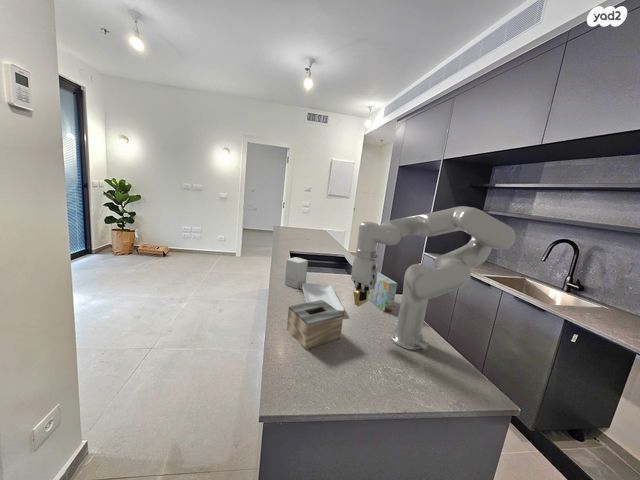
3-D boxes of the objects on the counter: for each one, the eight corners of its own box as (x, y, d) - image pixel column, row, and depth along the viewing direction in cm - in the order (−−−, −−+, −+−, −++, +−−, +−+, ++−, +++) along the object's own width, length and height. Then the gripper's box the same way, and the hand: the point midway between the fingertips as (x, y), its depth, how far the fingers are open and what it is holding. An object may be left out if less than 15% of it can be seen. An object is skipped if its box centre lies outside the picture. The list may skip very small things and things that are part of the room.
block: (367, 301, 107) (366, 288, 105) (358, 306, 104) (357, 293, 102) (364, 299, 108) (362, 286, 106) (354, 304, 106) (353, 291, 104)
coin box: (340, 338, 103) (343, 314, 101) (305, 349, 94) (308, 323, 92) (319, 321, 114) (322, 299, 112) (286, 329, 105) (288, 306, 103)
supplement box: (306, 285, 153) (308, 260, 150) (296, 289, 146) (299, 263, 143) (293, 280, 158) (296, 256, 155) (283, 284, 150) (286, 259, 147)
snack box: (393, 311, 132) (398, 283, 129) (383, 312, 130) (388, 283, 127) (370, 294, 151) (374, 268, 148) (361, 294, 149) (365, 269, 146)
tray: (330, 289, 151) (330, 284, 151) (344, 317, 121) (345, 310, 120) (300, 288, 148) (301, 282, 147) (307, 316, 118) (308, 309, 117)
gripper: (388, 259, 98) (381, 305, 101) (358, 248, 110) (353, 290, 114) (374, 260, 93) (368, 309, 97) (345, 250, 106) (340, 293, 110)
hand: (360, 298), depth 105 cm, fingers closed on block, 1 cm apart
